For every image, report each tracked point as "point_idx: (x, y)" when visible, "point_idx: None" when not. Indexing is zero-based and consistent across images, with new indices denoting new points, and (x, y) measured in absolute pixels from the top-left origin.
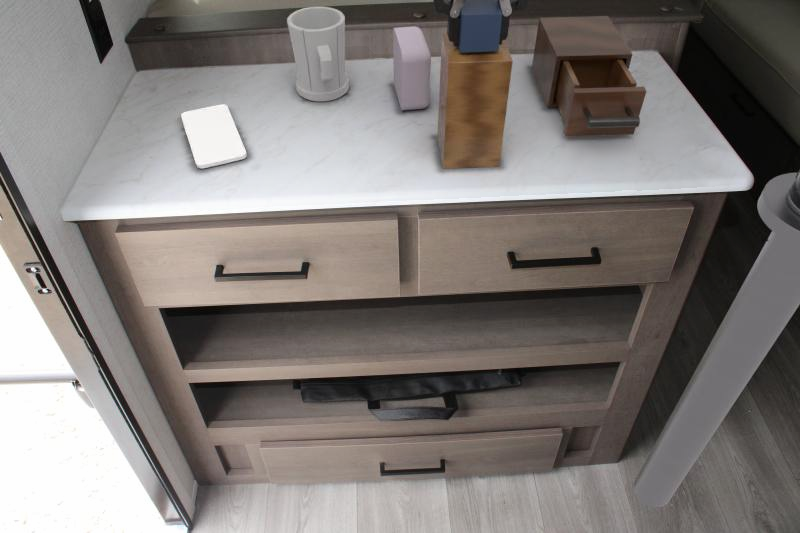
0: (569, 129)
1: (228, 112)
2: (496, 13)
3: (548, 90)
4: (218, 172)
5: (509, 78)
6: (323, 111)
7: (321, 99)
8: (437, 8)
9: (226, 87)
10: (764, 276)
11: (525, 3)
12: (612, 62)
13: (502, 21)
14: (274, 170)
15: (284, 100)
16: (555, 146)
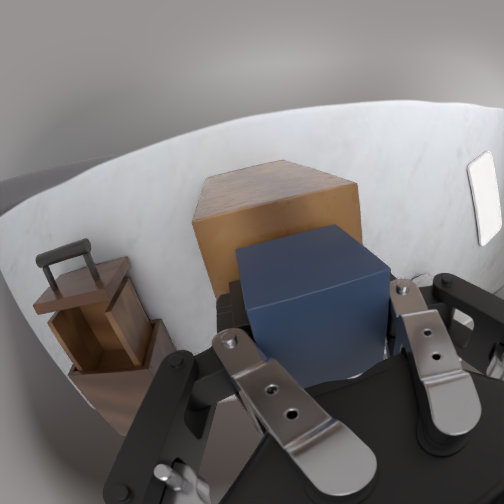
0: (120, 261)
1: (481, 234)
2: (269, 306)
3: (161, 338)
4: (477, 146)
5: (198, 208)
6: (418, 259)
7: (421, 276)
8: (453, 278)
9: (475, 278)
10: (8, 188)
11: (165, 370)
12: None
13: (238, 317)
14: (447, 147)
15: (445, 270)
16: (138, 240)
